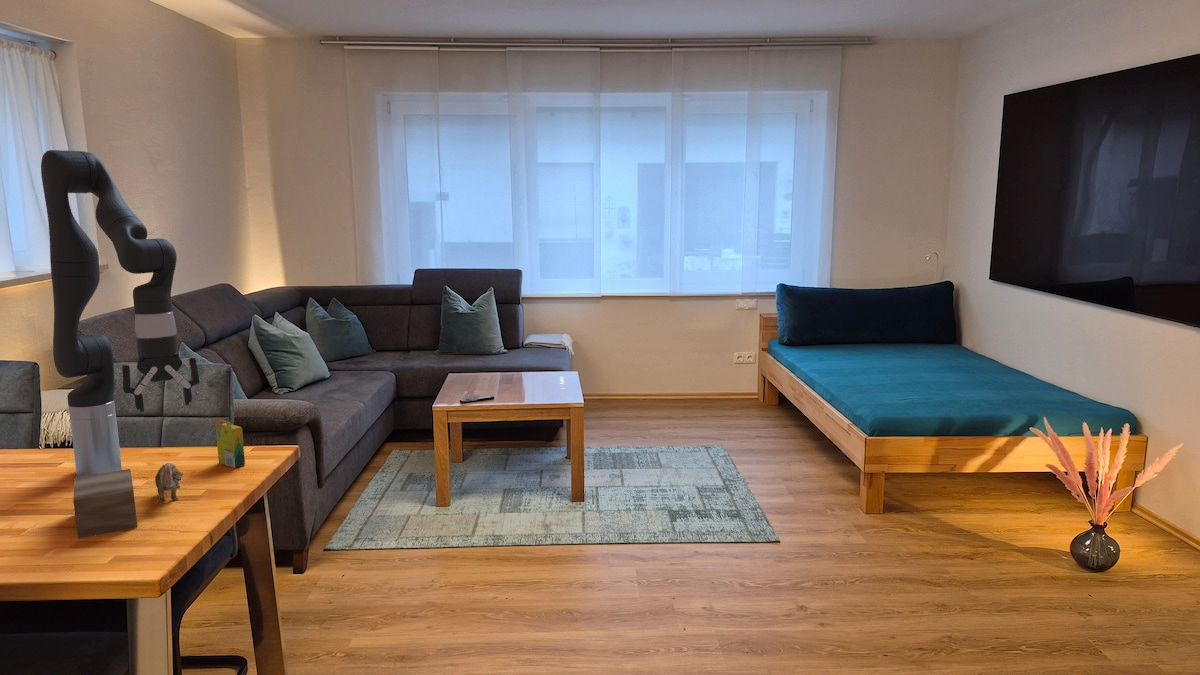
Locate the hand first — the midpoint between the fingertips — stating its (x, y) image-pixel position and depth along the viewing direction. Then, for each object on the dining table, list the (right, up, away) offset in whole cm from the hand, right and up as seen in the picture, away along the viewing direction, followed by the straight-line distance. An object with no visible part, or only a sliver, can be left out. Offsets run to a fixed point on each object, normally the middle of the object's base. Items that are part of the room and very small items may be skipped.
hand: (164, 407), depth 171 cm
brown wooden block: (-7, -22, -8) cm, 25 cm away
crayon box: (+3, -16, +25) cm, 30 cm away
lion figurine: (-1, -20, +4) cm, 21 cm away
